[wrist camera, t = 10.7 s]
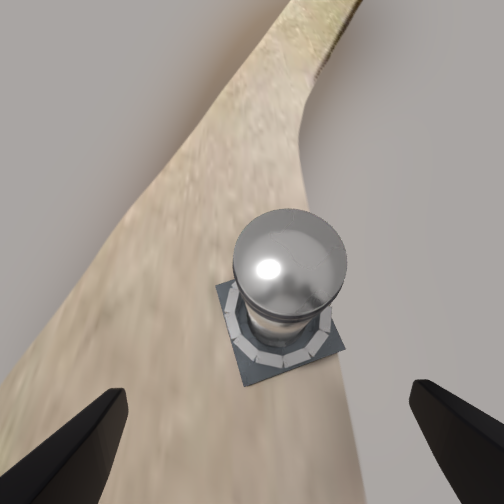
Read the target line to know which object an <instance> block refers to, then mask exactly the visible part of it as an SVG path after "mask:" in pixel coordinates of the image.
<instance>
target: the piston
mask: <svg viewBox="0 0 504 504" xmlns="http://www.w3.org/2000/svg"><path fill="white" fill-rule="evenodd" d="M346 271H347V255H346V250H345V247H344V244H343V242H342V240H341V238H340V236H339V235H338V234H337V232H336V231H335V230H334V229H333V227H332V226H331V225H329V224H328V223H327V222H326V221H324V220H323V219H322V218H320V217H318V216H316V215H315V214H312V213H310V212H307V211H303V210H298V209H278V210H273V211H270V212H267V213H264V214H262V215H260V216H258V217H257V218H255V219H254V220H253V221H251V222H250V223H249V224H248V225H247V226H246V227H245V228H244V229H243V231H242V232H241V234H240V235H239V237H238V240H237V242H236V245H235V248H234V255H233V273H234V278H235V281H236V284H237V287H238V290H239V292H240V294H241V296H242V298H243V300H244V301H245V304H246V307H247V322H248V326H249V328H250V330H251V332H252V334H253V335H254V336H255V338H256V339H258V340H259V341H260V342H261V343H263V344H265V345H267V346H271V347H285V346H288V345H290V344H292V343H294V342H295V341H296V340H297V339H298V338H300V336H301V335H302V334H303V332H304V331H305V328H306V326H307V323H308V322H309V321H310V320H311V319H312V318H314V317H315V316H317V315H318V314H320V313H321V312H322V311H323V310H324V309H325V308H326V307H327V306H328V305H329V304H330V303H331V302H332V301H333V300H334V299H335V298H336V296H337V295H338V293H339V291H340V289H341V287H342V285H343V282H344V279H345V275H346Z"/></svg>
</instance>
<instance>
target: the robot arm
mask: <svg viewBox="0 0 504 504" xmlns="http://www.w3.org/2000/svg"><path fill="white" fill-rule="evenodd" d="M409 405H410V407H411V410H412V412H413V414H414V416H415V418H416V420H417V422H418V424H419V426H420V428H421V430H422V432H423V435H424V436H425V439H426V441H427V443H428V445H429V447H430V449H431V451H432V453H433V455H434V457H435V459H436V461H437V463H438V464H439V466H440V468H441V470H442V471H443V473H444V475H445V477H446V478H447V480H448V482H449V483H450V485H451V487H452V488H453V490H454V492H455V493H456V495H457V497H458V499H459V500H460V502H461V503H462V504H504V424H503V423H501V422H499V421H498V420H496V419H494V418H493V417H491V416H489V415H488V414H486V413H484V412H483V411H481V410H479V409H477V408H476V407H474V406H472V405H471V404H469V403H467V402H466V401H464V400H462V399H461V398H459V397H457V396H456V395H454V394H452V393H451V392H449V391H447V390H445V389H443V388H442V387H440V386H439V385H437V384H435V383H434V382H432V381H430V380H426V379H424V380H415V381H414V382H413V385H412V389H411V393H410V397H409ZM127 417H128V403H127V397H126V392H125V389H124V388H110V389H108V390H107V391H106V392H104V393H103V394H102V395H101V396H99V397H98V398H97V399H96V400H94V401H93V402H92V403H91V404H89V405H88V406H87V407H86V408H85V409H83V410H82V411H81V412H80V413H78V414H77V415H76V416H75V417H73V418H72V419H71V420H70V421H68V422H67V423H66V424H65V425H64V426H62V427H61V428H60V429H59V430H57V431H56V432H55V433H54V434H52V435H51V436H50V437H49V438H47V439H46V440H45V441H44V442H43V443H41V444H40V445H39V446H38V447H36V448H35V449H34V450H33V451H31V452H30V453H29V454H28V455H26V456H25V457H24V458H23V459H22V460H20V461H19V462H18V463H17V464H15V465H14V466H13V467H12V468H10V469H9V470H8V471H7V472H5V473H4V474H3V475H2V476H1V477H0V504H98V502H99V499H100V497H101V495H102V492H103V490H104V487H105V485H106V482H107V480H108V477H109V474H110V471H111V468H112V465H113V462H114V458H115V455H116V452H117V449H118V446H119V443H120V439H121V436H122V433H123V430H124V427H125V423H126V420H127Z"/></svg>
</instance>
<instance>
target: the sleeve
mask: <svg viewBox="0 0 504 504" xmlns="http://www.w3.org/2000/svg"><path fill="white" fill-rule="evenodd" d="M216 290H217V293H218V297H219V300H220V304H221V308H222V311H223V315H224V318H225V322H226V325H227V329H228V332H229V336H230V339H231V343H232V347H233V350H234V354H235V357H236V361H237V364H238V368H239V371H240V375H241V378H242V382H243V385H244V387H245V386H248V385H251V384H253V383H256V382H259V381H261V380H264V379H267V378H270V377H272V376H275V375H278V374H280V373H283V372H286V371H288V370H291V369H294V368H296V367H299V366H302V365H305V364H307V363H310V362H313V361H315V360H318V359H321V358H323V357H326V356H329V355H331V354H334V353H337V352H339V351H342V350H345V347H344V344H343V342H342V340H341V338H340V336H339V333H338V331H337V329H336V327H335V325H334V322H333V320H332V318H331V314H332V307H330V305H331V303H330V304H329V305H328V306H327V307H326V308H325V309H324V310H323V311H322V312H321V313H320V314H318V315H317V316H315V317H314V318H312V319H311V320H310V321H309V322H308V323H307V326H306V328H305V331H304V332H303V334H302V335H301V336H300V338H298V339H297V340H296V341H295V342H294V343H292V344H290V345H288V346H285V347H271V346H267V345H265V344H263V343H261V342H260V341H259V340H258V339H256V338H255V336H254V335H253V334H252V332H251V330H250V328H249V326H248V322H247V307H246V304H245V301H244V300H243V298H242V296H241V294H240V292H239V290H238V287H237V284H236V281H235V279H234V280H231V281H228V282H225V283H222V284H219V285H216Z"/></svg>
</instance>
